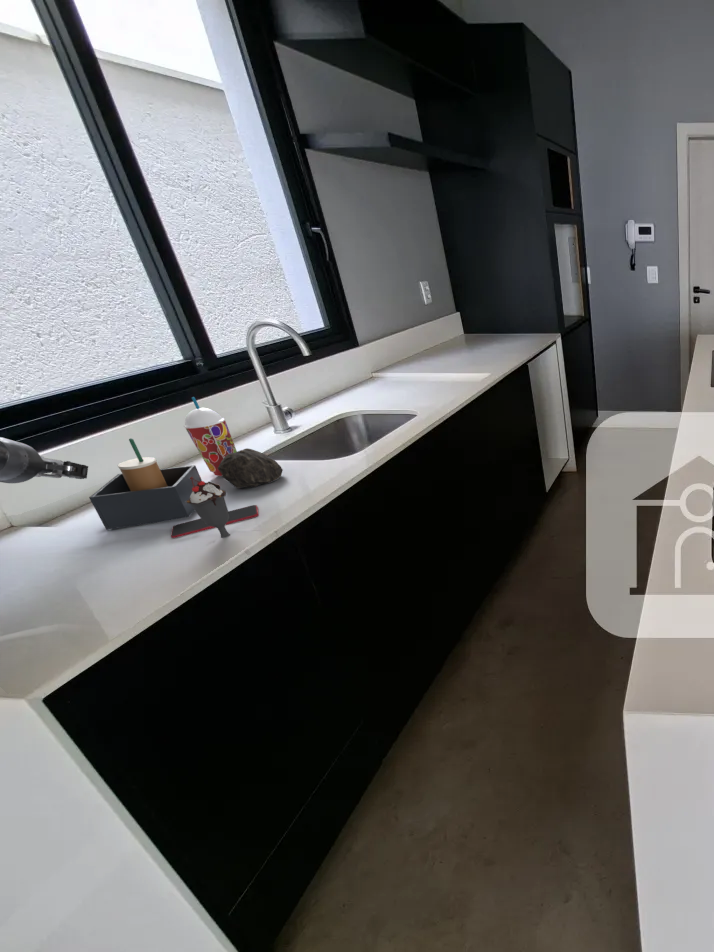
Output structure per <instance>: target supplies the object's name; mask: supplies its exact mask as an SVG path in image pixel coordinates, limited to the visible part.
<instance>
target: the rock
mask: <svg viewBox="0 0 714 952" xmlns="http://www.w3.org/2000/svg"><path fill="white" fill-rule="evenodd" d="M218 470H219V471H220V472H221V474H222V476H221V477H222V478H223V479H224V480H225V481H226V482H228V483H229V484H230V485H231V486H233V487H234V488H237V489H242V488H247V489H248V488H249V489H251V488H257V487H258V486H260V485H268V484H271V483H273V482H275V481H277V480H279V479H280V477H281V476H282V474H283V471H284V469H283V468H282V466H281V465H280V464H279V463H278V462H277V461H276V459H274V458H271V457H269V455H266V454H265V453H264V452H260V451H258V450H256V449H252V448H248V447H247V448H243V449H241V450H238V451H237V452H235V453H230V454H228V455H226V456H225V457H224V458H223V460H222V461H221V463H220V465H219V467H218Z"/></svg>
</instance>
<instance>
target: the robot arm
mask: <svg viewBox="0 0 714 952" xmlns="http://www.w3.org/2000/svg"><path fill="white" fill-rule="evenodd" d="M88 471H89V466H88V465H86V464H81V463H77V462H73V461H70V460H66V461H65V460H64V461H63V460H61V459H55V458H47V457H44V456H43V455H40V454H39V452H38V451H37V450H36V449H34V447H32V446H31V445H28V444H26V443H23V442H20V441H15V440H12V439H9V438H5V437H2V436H0V483H3V484H20V483H24V482H28V481H30V480H32V479H33V478H41V477H43V478H51V479H60V478H62V477H63V478H64V477H65V478H69V479H76V480H84V479H85V480H86V479H88Z"/></svg>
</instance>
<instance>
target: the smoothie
mask: <svg viewBox="0 0 714 952" xmlns="http://www.w3.org/2000/svg"><path fill="white" fill-rule="evenodd" d="M191 400H192V402H193V404H194V406H195V408H193V409H192V410H190V411H189V412H188V413H187V414H186V415H185V418H184V425H183V427H184V429H185V430H186V432H187V434H188V435H189V437H190V439H191V441H192V443H193V444H194V446H195V447H196V449H197V451H198V453H199V455H200V456H201V458H202V460H203V462H204V463H205V464H206V467H207V468H208V470H209V472H211V473H213V475H214V476H217V477H223V476H222V474H221V472H220V471H219V470H218V467H219V465H220V463H221V461H222V460H223V458H224V457H225V456H226V455H228V454H230V453H235V452H238V451H237V448H236V446H235V442H234V440H233V437H232V434H231V432H230V430H229V427H228V424H227V421H226V417H223V416H222V415H221V414H220V413H219V412H217V411H216V410H214V409H211V408H207V407H200V405H199V403H198V401H197V399H196V397H195V396H192V397H191Z"/></svg>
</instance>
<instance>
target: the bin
mask: <svg viewBox="0 0 714 952" xmlns="http://www.w3.org/2000/svg"><path fill="white" fill-rule="evenodd" d="M159 469H160V471H161V473H162V475H163V477H164V479H165V481H166V484H167V486H168V487H162V488H154V489H146V490H138V491H131V490H130V488H129V486H128V484H127V482H126V480H125V478H124V476H123V474H122V473H117V474H116V475H115V476H114V477H113V478H111V479H110V480H108V481H107V482H106V483H105V484H104V485H103V486H101V487H100V488H99V489H97V491H95V492H94V493H92V494H91V495H90V496H89V497H88V498H89V500H90V502H91V504H92V506H93V508H94V509H95V512H96V513H97V516H98V518H99V519H100V521H101V523H102V524H103V526H104V528H105V530H115V529H122V528H129V527H135V526H142V525H143V526H144V525H150V524H156V523H157V524H158V523H164V522H169V521H175V520H179V519H184V518H189V517H190V516H191V515H192V514H193V513H194V512H195V510H194V508H193V507H192V506H191V505H190V504H187V503H185V501H187V500H188V499H189V498H190V496H191V494H192V488H193V484H192V480H193V479H194V480H193V483H194V486H196V485H197V483H198V482H197V481H203V480H202V477H201V475H200V473H199V470H198V468H197V465H196V464H193V465H184V466H176V467H168V468H159ZM191 477H193V479H190V478H191ZM195 480H197V481H195Z"/></svg>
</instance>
